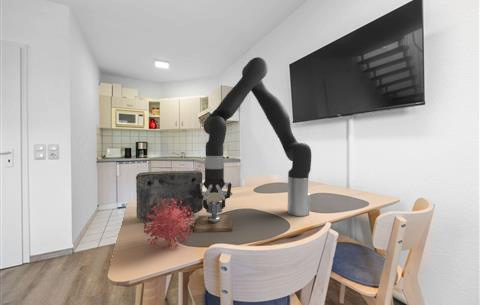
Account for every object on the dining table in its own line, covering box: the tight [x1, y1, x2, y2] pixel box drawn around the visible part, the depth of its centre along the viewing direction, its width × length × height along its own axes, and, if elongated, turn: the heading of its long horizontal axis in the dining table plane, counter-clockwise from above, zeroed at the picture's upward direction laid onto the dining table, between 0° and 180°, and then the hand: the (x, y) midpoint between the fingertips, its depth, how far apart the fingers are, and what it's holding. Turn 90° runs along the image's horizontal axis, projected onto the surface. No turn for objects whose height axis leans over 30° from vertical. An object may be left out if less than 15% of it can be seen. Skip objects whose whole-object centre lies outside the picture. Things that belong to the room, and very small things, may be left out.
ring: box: [205, 200, 223, 215], centre depth 81 cm, size 6×6×3 cm
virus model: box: [143, 198, 195, 250], centre depth 63 cm, size 15×15×15 cm
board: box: [193, 214, 233, 233], centre depth 81 cm, size 14×14×1 cm
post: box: [208, 199, 220, 224], centre depth 81 cm, size 5×5×8 cm
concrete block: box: [135, 169, 204, 220], centre depth 88 cm, size 27×9×20 cm, turn 110°
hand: (214, 208), depth 81 cm, fingers closed on ring, 6 cm apart
